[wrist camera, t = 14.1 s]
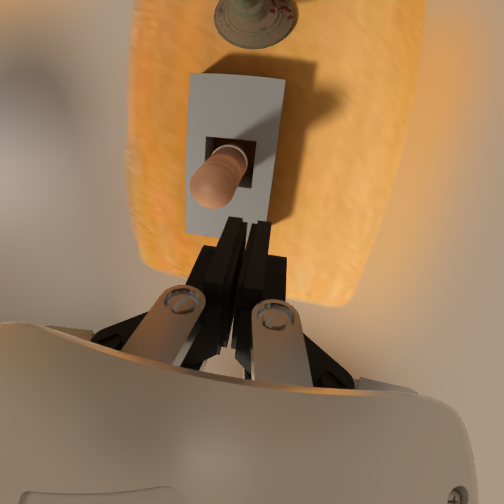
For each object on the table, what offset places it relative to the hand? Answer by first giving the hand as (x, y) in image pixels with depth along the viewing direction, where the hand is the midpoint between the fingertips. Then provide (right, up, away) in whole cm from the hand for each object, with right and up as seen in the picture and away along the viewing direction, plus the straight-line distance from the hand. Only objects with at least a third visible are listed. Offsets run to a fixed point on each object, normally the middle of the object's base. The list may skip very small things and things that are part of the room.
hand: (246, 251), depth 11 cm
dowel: (-2, +12, +23) cm, 26 cm away
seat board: (-2, +12, +23) cm, 26 cm away
